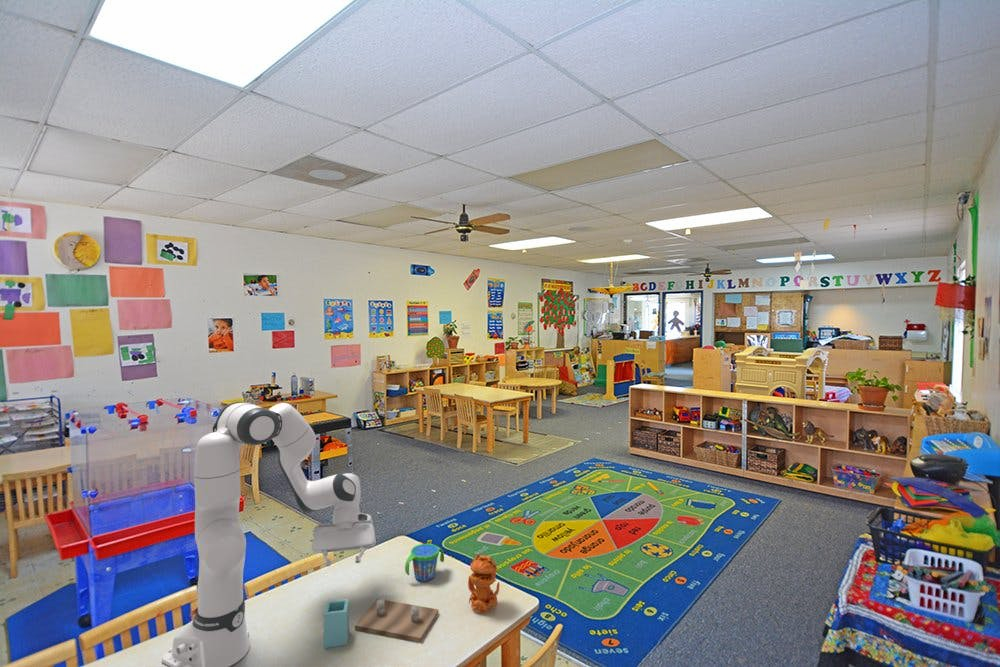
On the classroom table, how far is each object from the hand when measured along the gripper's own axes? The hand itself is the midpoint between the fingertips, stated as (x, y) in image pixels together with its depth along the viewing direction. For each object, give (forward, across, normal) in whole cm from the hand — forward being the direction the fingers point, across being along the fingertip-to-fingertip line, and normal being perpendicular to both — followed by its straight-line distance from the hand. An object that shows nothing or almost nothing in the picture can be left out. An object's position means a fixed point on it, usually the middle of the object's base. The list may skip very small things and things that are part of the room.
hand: (342, 564), depth 150 cm
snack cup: (+1, +27, +24) cm, 36 cm away
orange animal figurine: (+16, +45, +9) cm, 49 cm away
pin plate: (+17, +17, +6) cm, 25 cm away
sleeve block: (+20, -1, +2) cm, 20 cm away
